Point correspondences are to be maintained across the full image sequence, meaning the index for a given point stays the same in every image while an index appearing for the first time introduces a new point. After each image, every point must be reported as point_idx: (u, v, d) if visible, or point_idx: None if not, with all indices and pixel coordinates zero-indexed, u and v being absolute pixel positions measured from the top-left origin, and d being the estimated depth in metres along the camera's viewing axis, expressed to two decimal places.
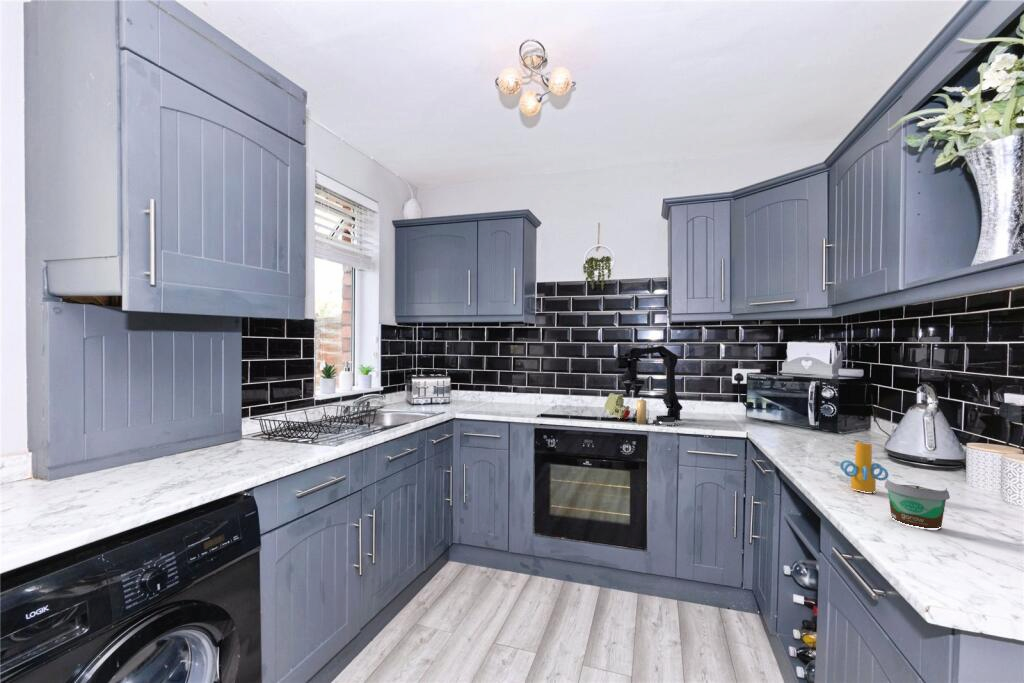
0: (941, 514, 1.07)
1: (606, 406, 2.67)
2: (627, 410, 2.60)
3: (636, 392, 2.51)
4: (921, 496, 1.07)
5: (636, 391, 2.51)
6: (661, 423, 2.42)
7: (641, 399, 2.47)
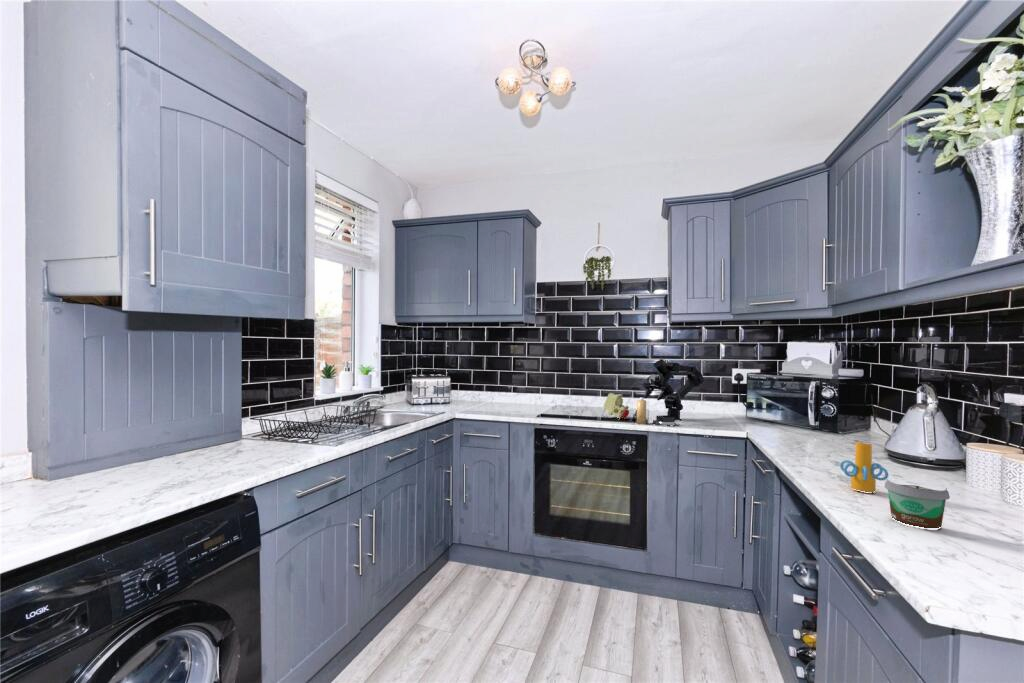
0: (941, 514, 1.07)
1: (605, 406, 2.67)
2: (626, 410, 2.60)
3: (661, 396, 2.49)
4: (921, 496, 1.07)
5: (661, 395, 2.49)
6: (661, 423, 2.42)
7: (641, 399, 2.47)
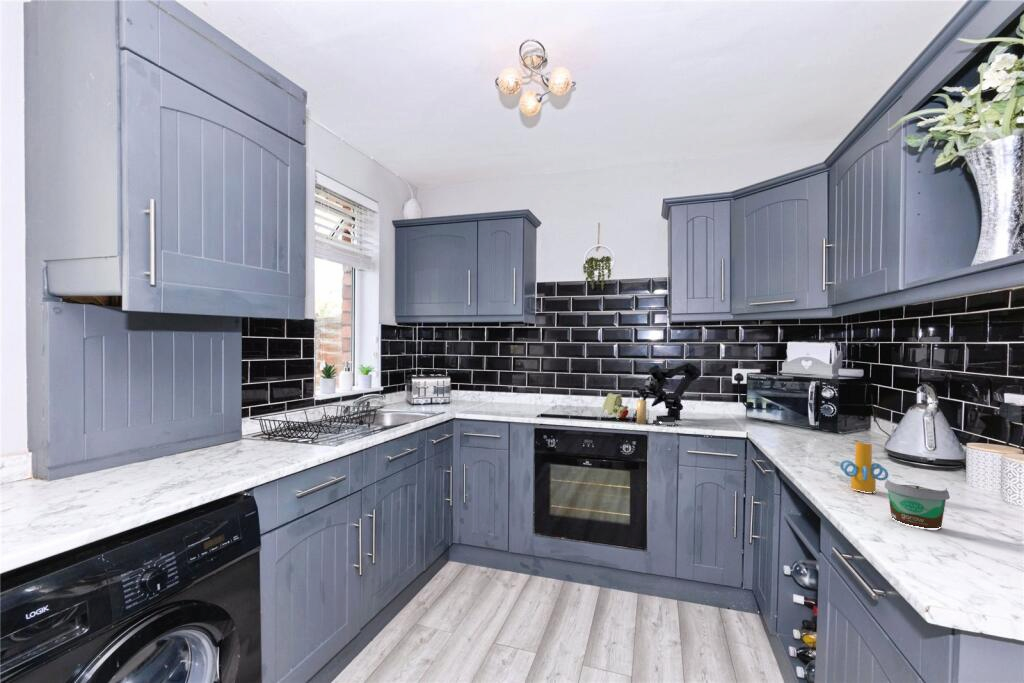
0: (941, 514, 1.07)
1: (604, 406, 2.67)
2: (625, 410, 2.61)
3: (655, 402, 2.46)
4: (921, 496, 1.07)
5: (656, 401, 2.46)
6: (661, 423, 2.42)
7: (641, 399, 2.47)
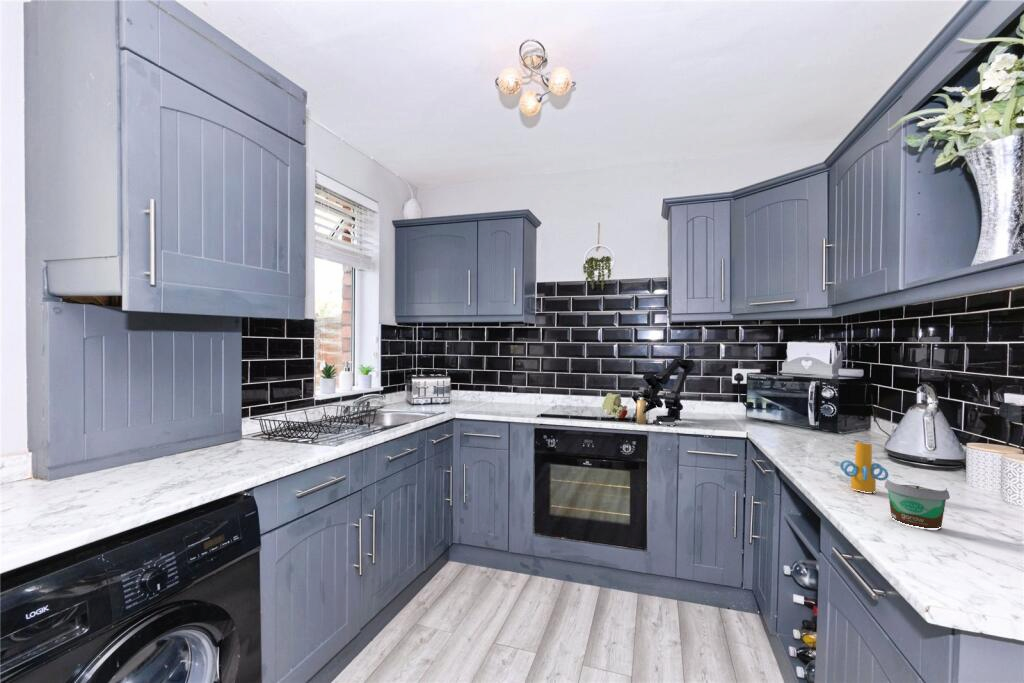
0: (941, 514, 1.07)
1: (604, 406, 2.68)
2: (625, 410, 2.61)
3: (646, 409, 2.45)
4: (921, 496, 1.07)
5: (647, 407, 2.45)
6: (661, 423, 2.42)
7: (641, 399, 2.47)
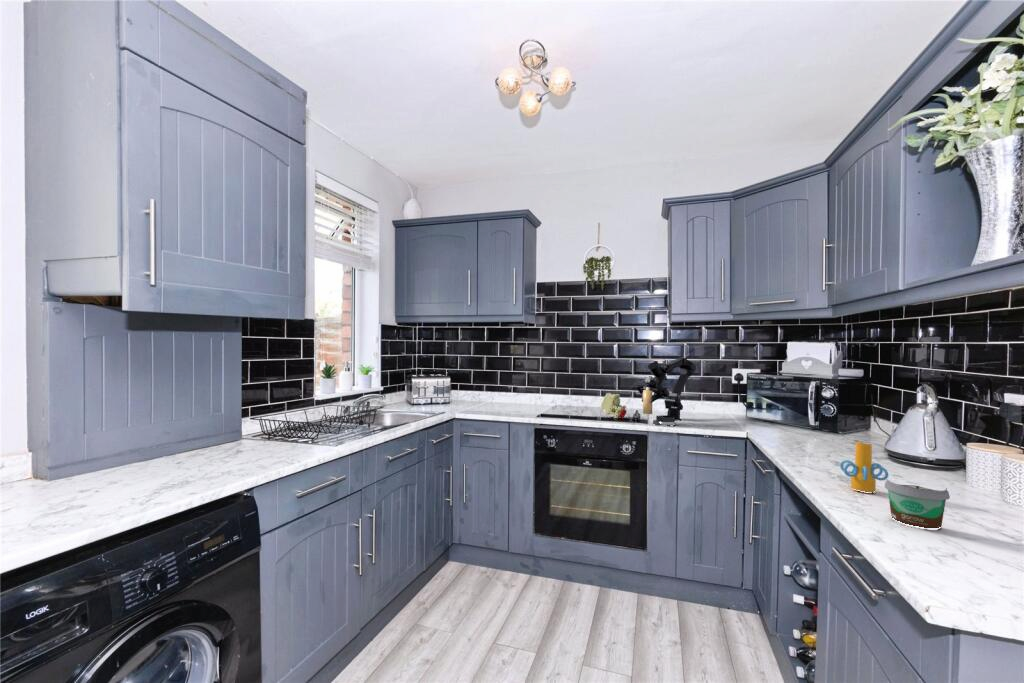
0: (941, 514, 1.07)
1: (603, 406, 2.68)
2: (623, 410, 2.62)
3: (653, 399, 2.44)
4: (921, 496, 1.07)
5: (654, 397, 2.44)
6: (661, 423, 2.42)
7: (647, 389, 2.46)
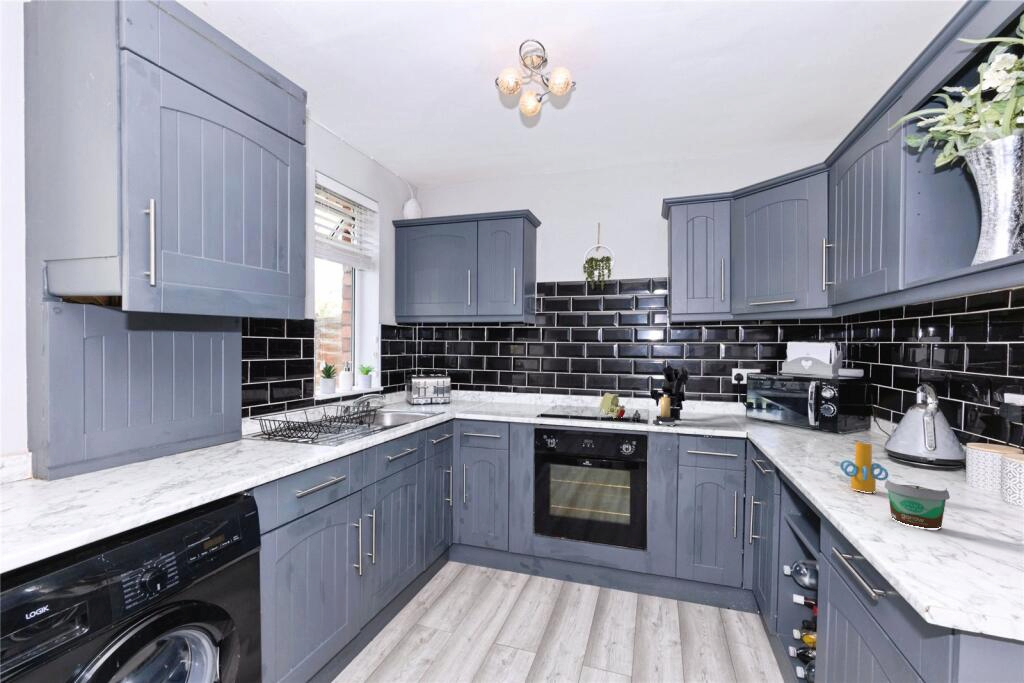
0: (941, 514, 1.07)
1: (601, 405, 2.69)
2: (622, 409, 2.62)
3: (675, 403, 2.43)
4: (921, 496, 1.07)
5: (675, 402, 2.44)
6: (661, 423, 2.42)
7: (666, 396, 2.46)
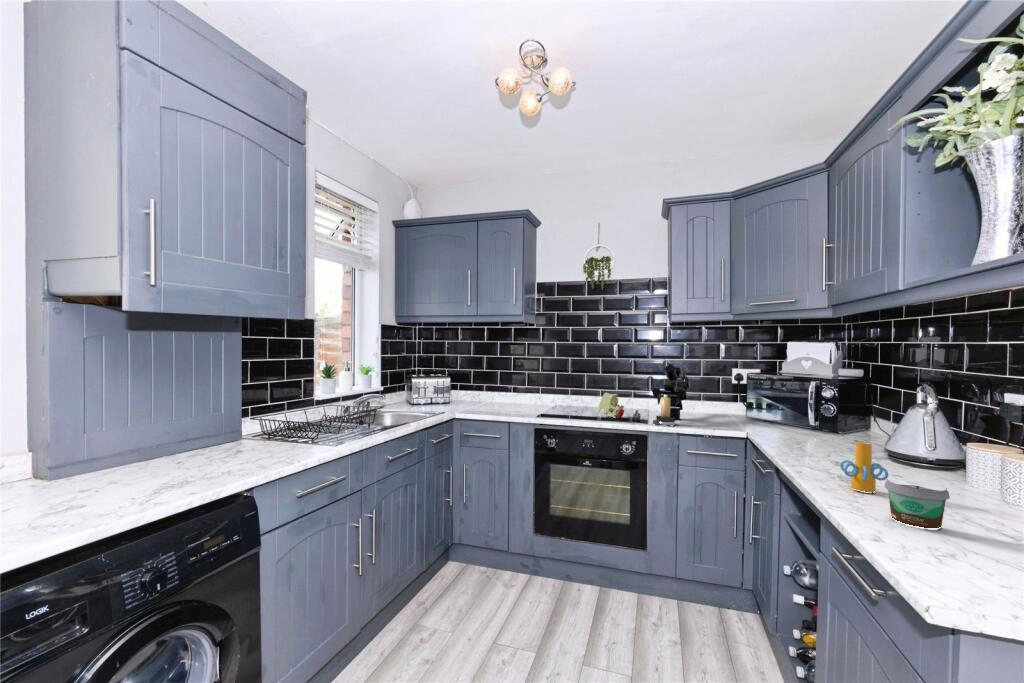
0: (941, 514, 1.07)
1: (601, 405, 2.69)
2: (621, 409, 2.62)
3: (677, 401, 2.47)
4: (921, 496, 1.07)
5: (678, 400, 2.47)
6: (661, 423, 2.42)
7: (666, 396, 2.45)
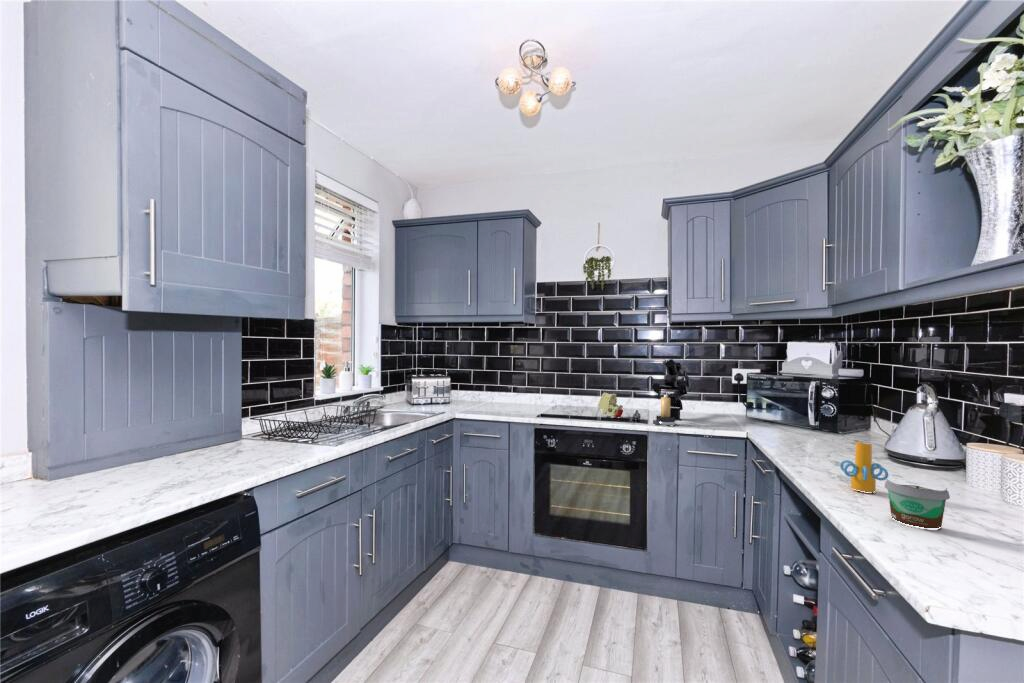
0: (941, 514, 1.07)
1: (599, 405, 2.69)
2: (620, 409, 2.63)
3: (677, 396, 2.47)
4: (921, 496, 1.07)
5: (678, 395, 2.48)
6: (661, 423, 2.42)
7: (666, 396, 2.45)
